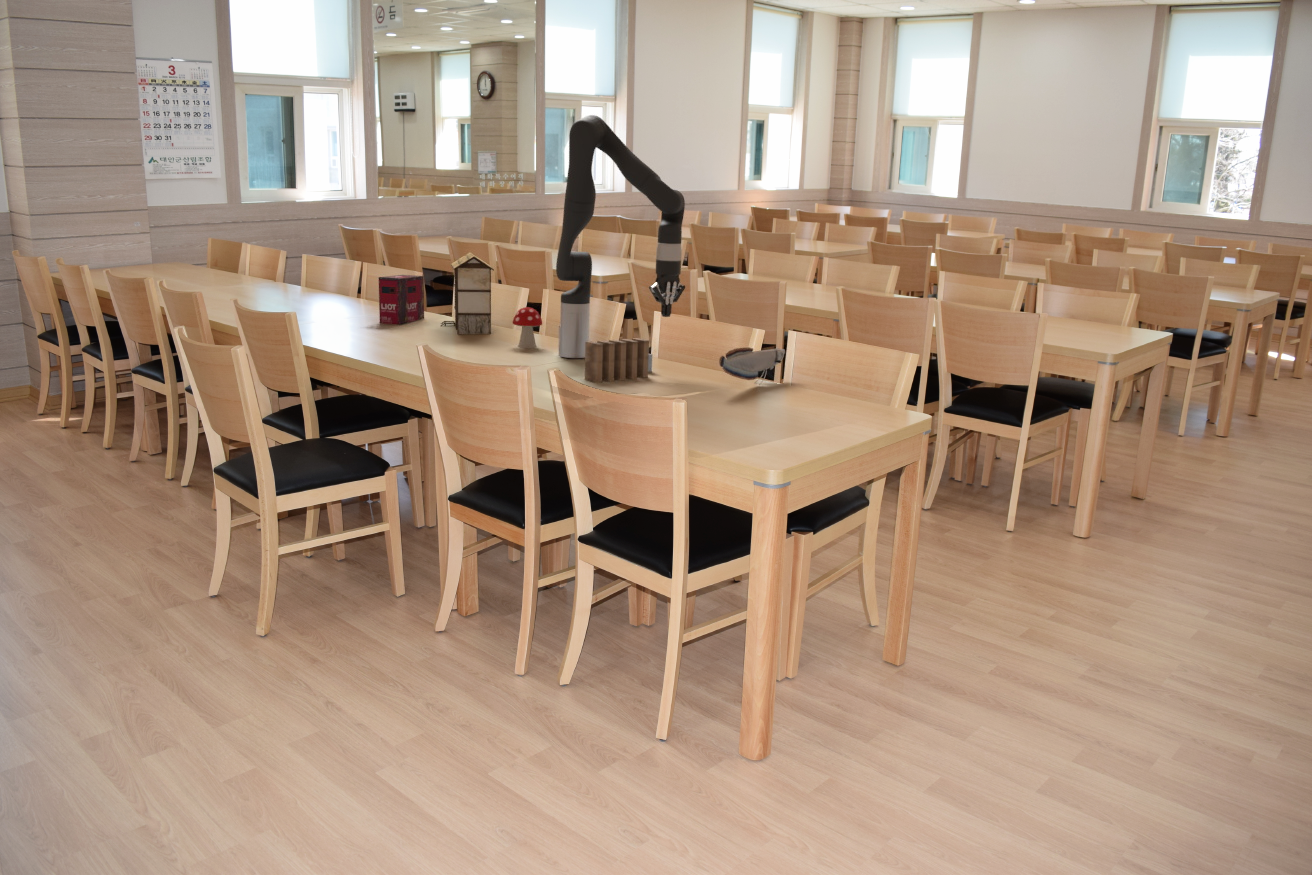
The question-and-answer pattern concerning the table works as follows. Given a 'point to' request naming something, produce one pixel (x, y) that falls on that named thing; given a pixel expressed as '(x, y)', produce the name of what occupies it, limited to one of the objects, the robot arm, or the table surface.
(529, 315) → the decorative mushroom
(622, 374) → the tile
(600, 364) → the tile
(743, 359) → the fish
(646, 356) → the tile
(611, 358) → the tile
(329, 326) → the table surface
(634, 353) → the tile
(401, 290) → the box
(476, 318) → the miniature building
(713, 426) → the table surface
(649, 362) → the slate tile
